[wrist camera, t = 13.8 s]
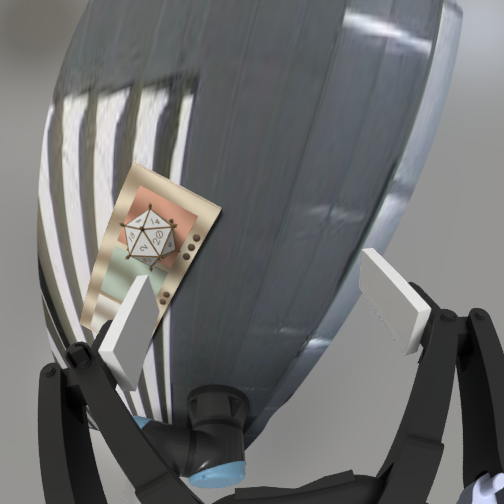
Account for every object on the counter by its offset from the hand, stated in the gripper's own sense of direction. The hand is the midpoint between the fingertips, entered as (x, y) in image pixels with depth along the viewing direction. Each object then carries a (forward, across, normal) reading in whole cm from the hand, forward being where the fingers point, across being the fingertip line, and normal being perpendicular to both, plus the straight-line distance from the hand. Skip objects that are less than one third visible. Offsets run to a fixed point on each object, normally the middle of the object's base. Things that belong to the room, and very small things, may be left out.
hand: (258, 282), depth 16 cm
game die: (+26, +14, +4) cm, 29 cm away
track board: (+27, +21, +13) cm, 36 cm away
